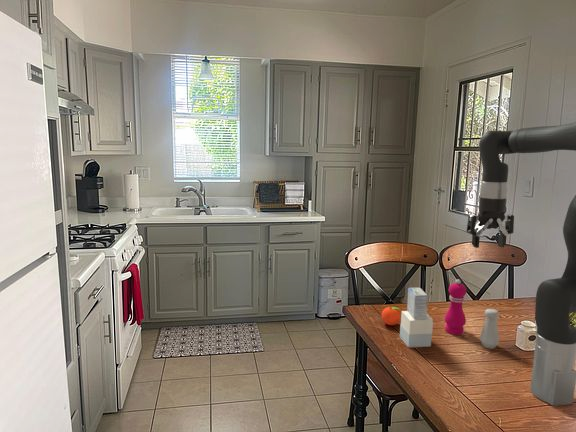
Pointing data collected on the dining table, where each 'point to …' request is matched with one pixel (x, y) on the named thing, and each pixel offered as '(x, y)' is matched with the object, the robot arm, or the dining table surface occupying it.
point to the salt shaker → (490, 329)
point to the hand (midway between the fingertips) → (488, 247)
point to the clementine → (391, 315)
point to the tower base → (415, 338)
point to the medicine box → (417, 303)
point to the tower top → (416, 324)
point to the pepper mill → (456, 309)
